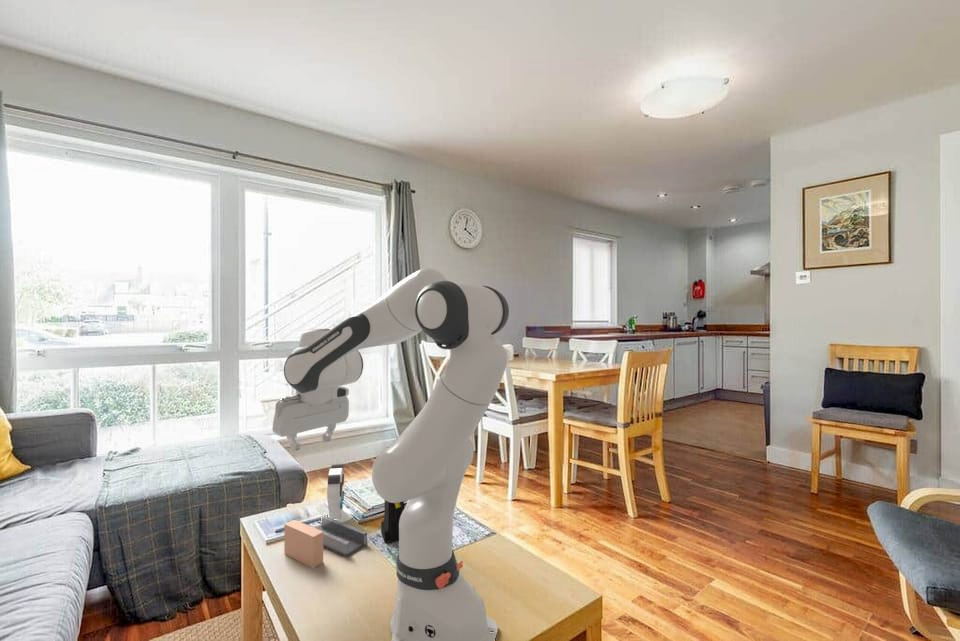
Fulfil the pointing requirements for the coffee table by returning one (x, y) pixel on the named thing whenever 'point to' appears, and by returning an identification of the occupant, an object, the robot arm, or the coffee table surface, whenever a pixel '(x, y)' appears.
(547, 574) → the coffee table surface
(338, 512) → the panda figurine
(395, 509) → the portable radio
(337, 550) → the bracket
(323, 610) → the coffee table surface
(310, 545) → the salmon orange rectangular block
